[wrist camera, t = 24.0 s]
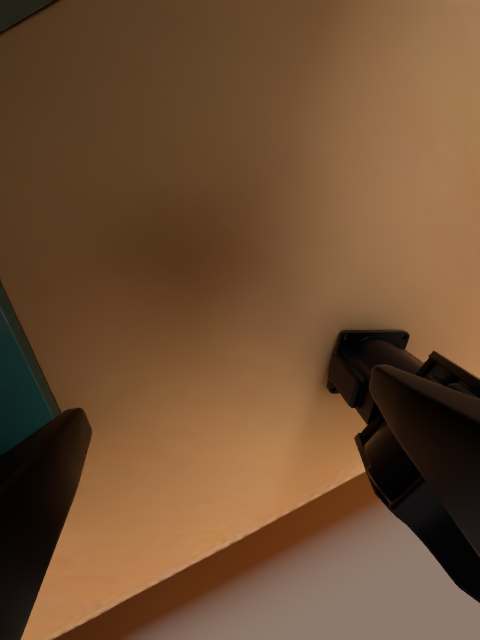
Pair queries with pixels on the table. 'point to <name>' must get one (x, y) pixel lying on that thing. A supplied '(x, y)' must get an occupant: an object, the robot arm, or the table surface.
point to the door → (18, 10)
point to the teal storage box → (20, 383)
